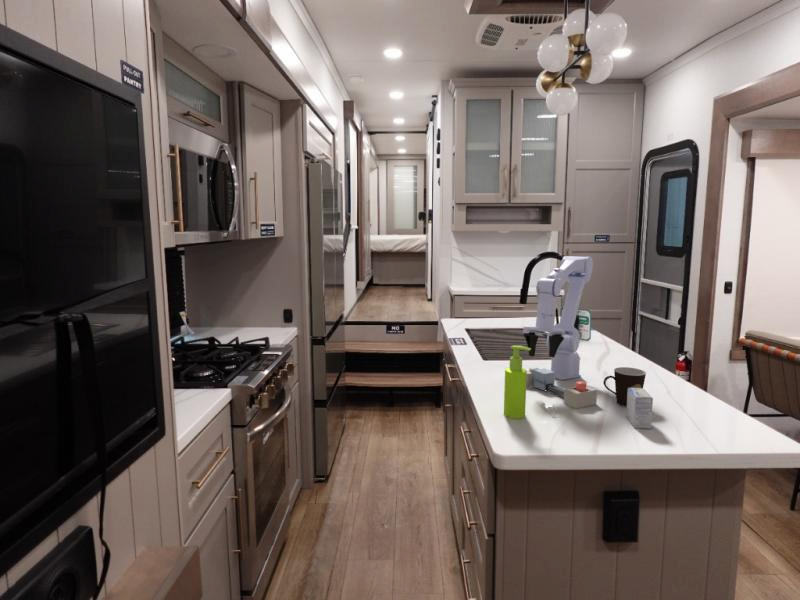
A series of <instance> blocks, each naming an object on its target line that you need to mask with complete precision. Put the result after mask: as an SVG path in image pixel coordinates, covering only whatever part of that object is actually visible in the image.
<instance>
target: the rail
mask: <svg viewBox="0 0 800 600" xmlns="http://www.w3.org/2000/svg"><path fill="white" fill-rule="evenodd" d="M564 389H565V388H562V387H560V386H557V385H555V384H554V385H552V384H546V391H545V392H548V393H550V392H551V393H550V394H552V393H553V395H554V396H557V395H558V396H557V397H559V396H560V398H561V399H564Z"/></svg>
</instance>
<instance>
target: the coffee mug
mask: <svg viewBox="0 0 800 600" xmlns="http://www.w3.org/2000/svg"><path fill="white" fill-rule="evenodd" d="M613 371H614V375H609V376H606V377H605V378H604V379H603V387H605V388H606V389H607V391H609V392H610V393H612V394H614V395H615V401H616V404H617V405H619V406H621V405H622V407H625V406H627V392H628V388H642V389H644V385H645V381H646V380H645V379H646V375H647V372H646V371H644V369H639V368H635V367H629V366H627V367H626V366H621V367H616V368H614V369H613ZM609 379H613V380H614V385H615V386H614V387H615V388H614V389H615V391H614V390H612V389H611V388H609V387H608V386H607V383H606V382H607V380H609Z"/></svg>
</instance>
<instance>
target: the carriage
mask: <svg viewBox="0 0 800 600" xmlns="http://www.w3.org/2000/svg"><path fill="white" fill-rule="evenodd" d="M555 379H556V378H555V372H553V371H551V369H547V368H545V367H544V368H539V369H537V370H534V383H533V386H532V387H535V388H537V389H540V390H542V391H545V390H546V384H552V385H555Z"/></svg>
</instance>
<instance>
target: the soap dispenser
mask: <svg viewBox="0 0 800 600" xmlns="http://www.w3.org/2000/svg"><path fill="white" fill-rule="evenodd" d="M510 349H511V350H512V356H510V357H509V367H506V368H505V369H504V393H503V394H504V396H503V397H504V398H503V404H504V405H503V415H504V416H505V417H506V418H509V419H514V420H515V419H519V420H520V419H523V418H525V417H526V401H527V400H526V399H527V387H526V373H527V371H528V370H527V369H525V368H523V357H521V356H520V351H521V350H522V351H525V352H529V350H531V348H528V346H524V345H515V344H514V345H511V346H510Z"/></svg>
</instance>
